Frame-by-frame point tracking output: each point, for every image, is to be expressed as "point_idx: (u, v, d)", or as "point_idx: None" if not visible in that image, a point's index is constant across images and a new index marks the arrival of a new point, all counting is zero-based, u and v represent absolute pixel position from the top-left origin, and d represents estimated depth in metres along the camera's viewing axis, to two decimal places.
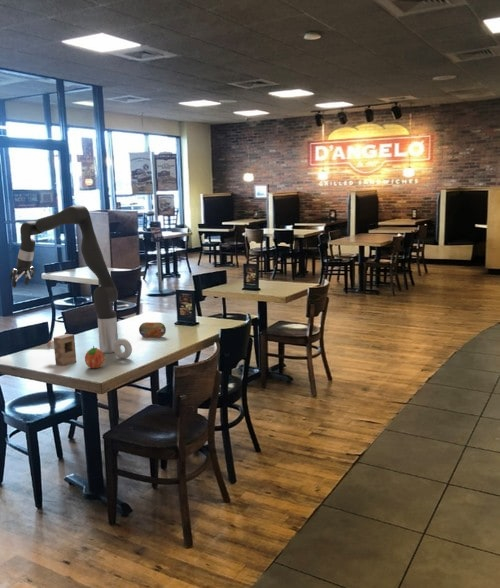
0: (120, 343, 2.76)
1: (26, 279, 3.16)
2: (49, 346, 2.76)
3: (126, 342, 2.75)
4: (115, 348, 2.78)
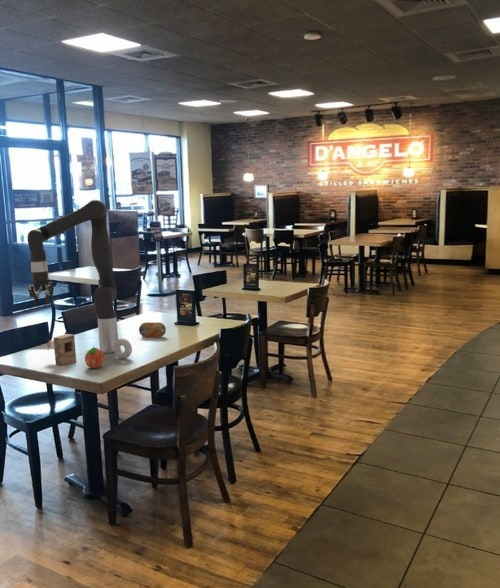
0: (120, 343, 2.76)
1: (46, 297, 2.89)
2: (49, 346, 2.76)
3: (126, 342, 2.75)
4: (115, 348, 2.78)
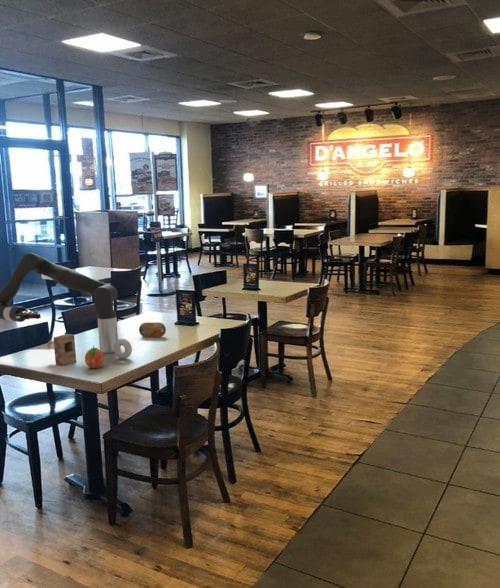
0: (120, 343, 2.76)
1: None
2: (49, 346, 2.76)
3: (126, 342, 2.75)
4: (115, 348, 2.78)
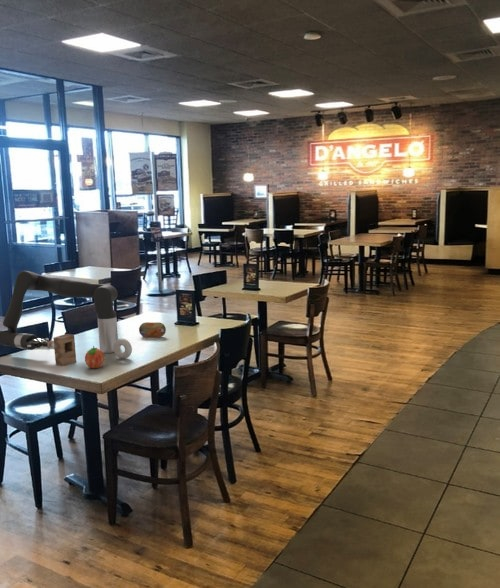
0: (120, 343, 2.76)
1: None
2: (49, 346, 2.76)
3: (126, 342, 2.75)
4: (115, 348, 2.78)
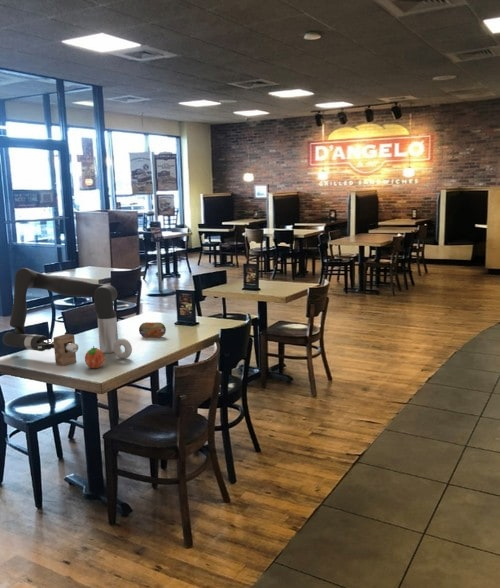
0: (120, 343, 2.76)
1: None
2: None
3: (126, 342, 2.75)
4: (115, 348, 2.78)
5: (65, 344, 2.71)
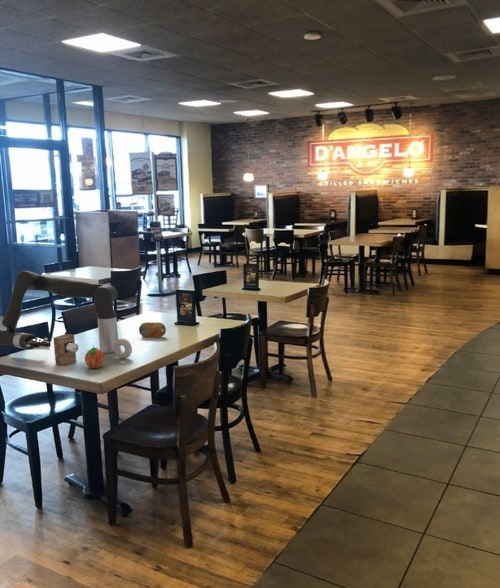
0: (120, 343, 2.76)
1: None
2: None
3: (126, 342, 2.75)
4: (115, 348, 2.78)
5: (65, 344, 2.71)
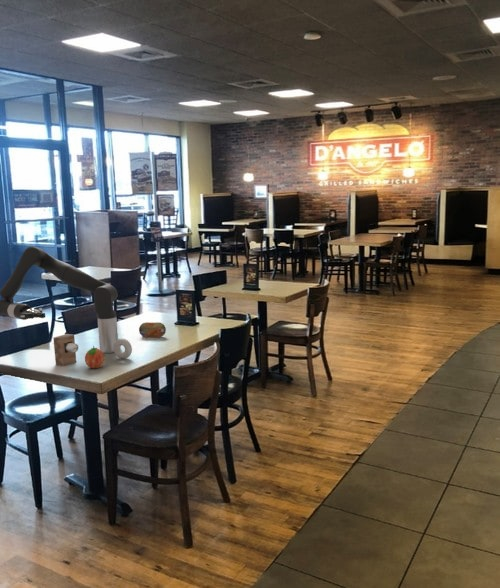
0: (120, 343, 2.76)
1: None
2: None
3: (126, 342, 2.75)
4: (115, 348, 2.78)
5: (65, 344, 2.71)
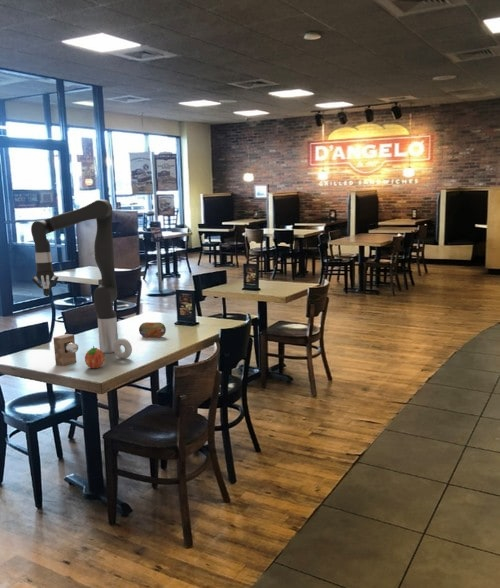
0: (120, 343, 2.76)
1: None
2: None
3: (126, 342, 2.75)
4: (115, 348, 2.78)
5: (65, 344, 2.71)
